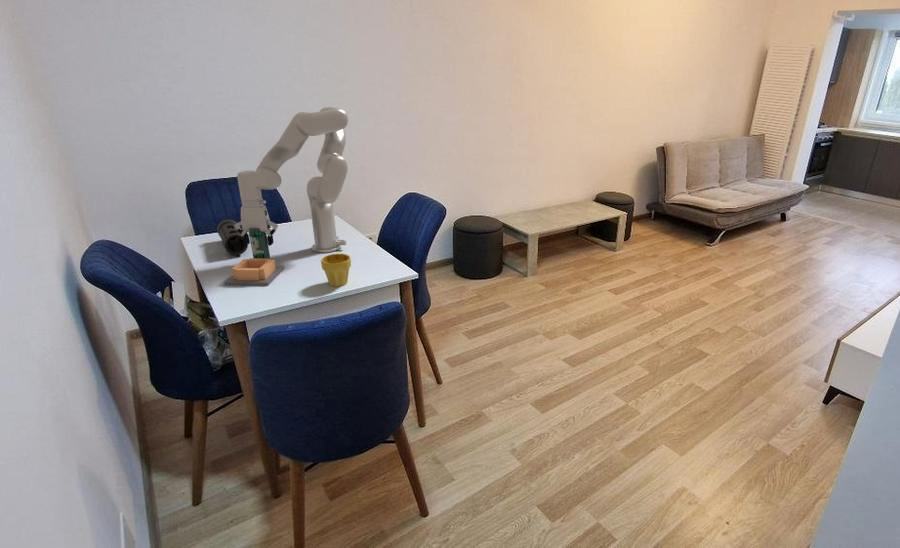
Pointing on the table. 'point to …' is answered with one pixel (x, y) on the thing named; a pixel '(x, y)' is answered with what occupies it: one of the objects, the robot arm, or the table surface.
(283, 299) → the table surface
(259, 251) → the can
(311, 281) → the table surface
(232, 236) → the muzzle brake
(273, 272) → the socket block
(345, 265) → the plant pot
